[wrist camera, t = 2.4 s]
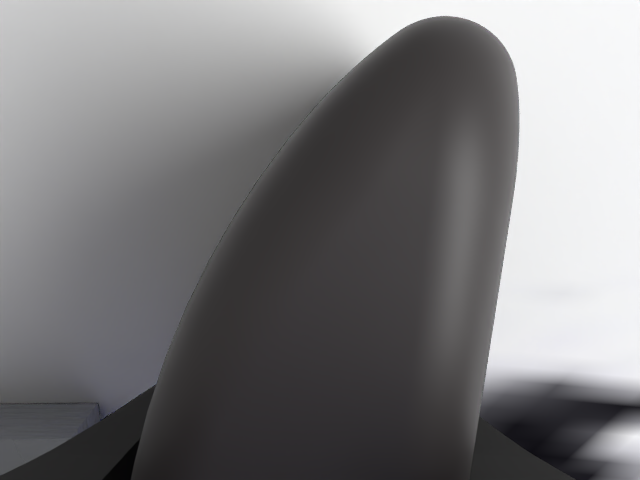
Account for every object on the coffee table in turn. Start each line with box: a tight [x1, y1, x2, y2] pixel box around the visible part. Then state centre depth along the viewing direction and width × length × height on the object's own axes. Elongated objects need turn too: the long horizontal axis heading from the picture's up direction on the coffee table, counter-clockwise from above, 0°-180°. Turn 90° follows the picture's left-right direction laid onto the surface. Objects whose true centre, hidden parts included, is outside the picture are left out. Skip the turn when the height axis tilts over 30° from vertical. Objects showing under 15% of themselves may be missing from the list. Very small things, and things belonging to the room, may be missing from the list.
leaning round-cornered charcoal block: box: [131, 16, 519, 480], centre depth 9 cm, size 13×4×8 cm, turn 176°
